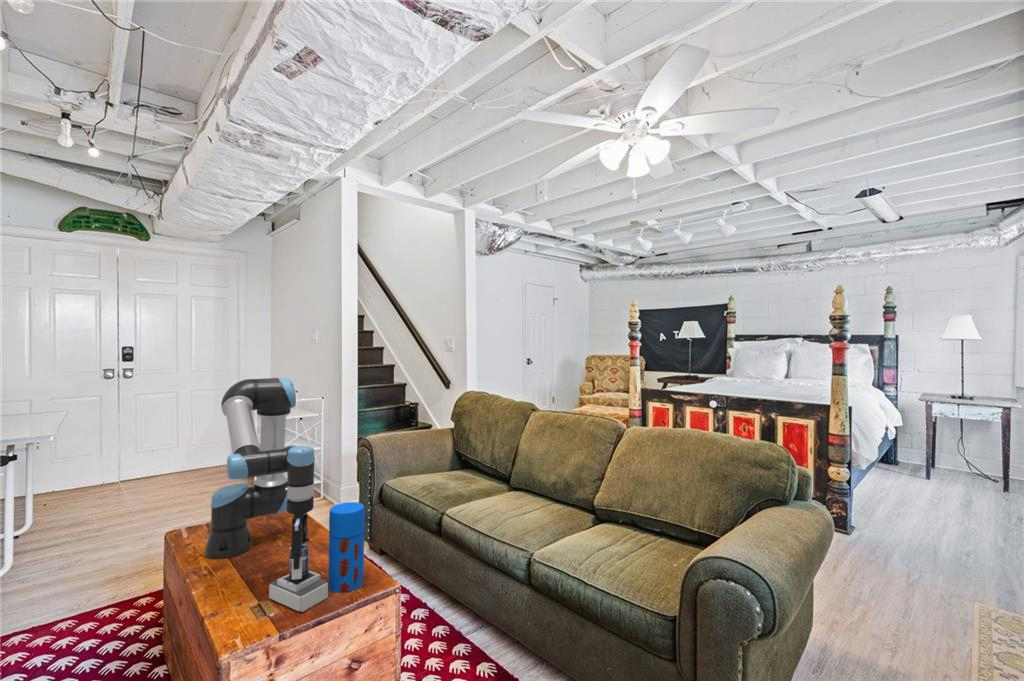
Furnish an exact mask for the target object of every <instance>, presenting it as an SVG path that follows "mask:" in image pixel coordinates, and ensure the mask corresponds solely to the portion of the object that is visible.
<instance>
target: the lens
mask: <svg viewBox="0 0 1024 681" xmlns="http://www.w3.org/2000/svg"><path fill="white" fill-rule="evenodd" d="M301 554H302V578H301V579H293V580H292V559H289V557H290V556H291V549H290V550H289V556H288V560H289V572H288V574H289V577H290V582H291V583H294V584H296V585H297V584H299V583H301V582H303V581H305V580H307V579H308V573H309V557H310V552H309V547H308V546H302V553H301Z"/></svg>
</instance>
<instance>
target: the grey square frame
mask: <svg viewBox="0 0 1024 681" xmlns="http://www.w3.org/2000/svg"><path fill="white" fill-rule="evenodd" d="M268 587H269V588H268V589H269V590H268V598H269V599H270V600H272V601H275V602H277V603H279V604H282V605H283V606H286V607H288V608H290V609H292V610H295V611H296V612H299V613H303V612H306V611H307V610H308V609H310V608H312V607H314V606H315V605H317V604H318V603H320V602H322V601H324V600H326V599H327V598H329V582H327V580H324V579H322V578H321V574H320V573H318V572H315V571H313V570H309V573H308V579H307V580H305V581H303V582H301V583H299V584H297V585H296V584H294V583H291V582H290V577H289V573H288V574H286V575H284V576H281V577H279V578H277V579H275V580H273V581H271V582H270V584H268Z"/></svg>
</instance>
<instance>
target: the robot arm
mask: <svg viewBox="0 0 1024 681" xmlns="http://www.w3.org/2000/svg"><path fill="white" fill-rule="evenodd" d="M294 386H295V385H294V383H293V381H292V380H291V379H290V378H287V377H284V378H283V377H271V378H270V377H269V378H247V379H243V380H239V381H238V382H236V383H234V384H233V385H232V386H231V387H230V388H228V389H227V391H225V393H224V395H223V396H222V400H221V413H222V414H223V415H224V416H225V417H226V422H227V428H228V433H229V439H230V447H231V452H232V454H229V455H228V456H227V459H226V475H227V478H228V479H229V480H233V481H234V480H244V479H245V480H246V479H251V478H256V477H257V478H256V479H254V482H253V486H248V484H246V483H234V484H229V485H226V486H224V487H221V488H219V489H217V490H216V491H215V492H214V493H212V495H211V503H210V508H211V509H210V510H211V511H210V512H211V513H210V514H211V516H210V534H209V536H208V538H207V541H206V544H205V547H204V555H205V557H206V558H208V559H214V560H215V559H216V560H217V559H218V560H219V559H227V558H232V557H235V556H239V555H241V554H243V553H246V552H248V551H249V550H250V549H251V548H252V546H253V539H252V536H251V533H250V530H249V528H248V519H249V520H250V519H254V518H260V517H265V516H271V515H277V514H279V513H282V512H283V513H284V512H287V513H288V514H291V515H293V517H292V519H291V545H290V546H291V549H290V550H291V556H290V557H289V556H288V560H289V559H292V580H293V579H301V578H302V554H301V553H302V546H307V545H308V544H307V543H309V542H310V538H309V535H308V519H309V514H308V513H310V512H312V510H314V503H315V502H314V499H315V497H314V494H315V482H314V481H315V459H316V456H315V449H314V447H313V446H311V445H309V446H308V445H294V444H293V445H290V444H289V445H286V443H285V442H286V427H287V426H286V424H287V422H286V421H287V416H289V415H290V414H291V409H293V408H295V407H296V405H297V395H296V389H295V387H294ZM252 411H256V415H257V416H258V417H259V418H260V419H261V420H260V441H259V440H258V435H257V430H256V426H255V423H254V419H253V418H254V417H253V414H252ZM285 445H286V446H285ZM285 473H286V474H287V475H285ZM307 547H308V546H307Z"/></svg>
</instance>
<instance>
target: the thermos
mask: <svg viewBox="0 0 1024 681" xmlns="http://www.w3.org/2000/svg"><path fill="white" fill-rule="evenodd" d="M365 513H366V512H365V506H364V504H363V503H361V502H357V501H354V502H353V501H351V502H342V503H338V504H334V505H332V506H331V507H330V509H329V513H328V514H329V515H328V516H329V518H328V520H329V521H328V523H329V524H328V530H329V531H328V533H329V534H328V572H327V573H328V574H327V575H328V590H330V591H331V592H333V593H336V594H337V593H338V594H339V593H340V594H344V593H350V592H353V591H355V590H358V588H361V586H362V585H363V583H364V570H365V569H364V568H365V567H364V565H365V564H364V563H365V518H366V517H365Z"/></svg>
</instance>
